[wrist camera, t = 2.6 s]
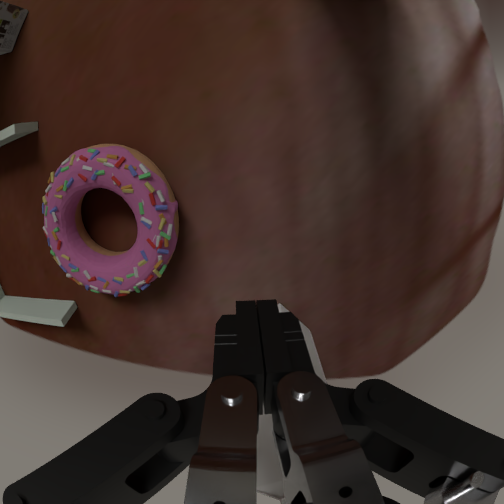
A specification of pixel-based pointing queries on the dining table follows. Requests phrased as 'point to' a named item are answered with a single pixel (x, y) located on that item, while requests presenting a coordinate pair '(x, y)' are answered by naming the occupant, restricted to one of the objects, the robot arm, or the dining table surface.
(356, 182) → the dining table surface
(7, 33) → the coffee box
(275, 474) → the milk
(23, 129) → the box
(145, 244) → the donut
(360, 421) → the robot arm
